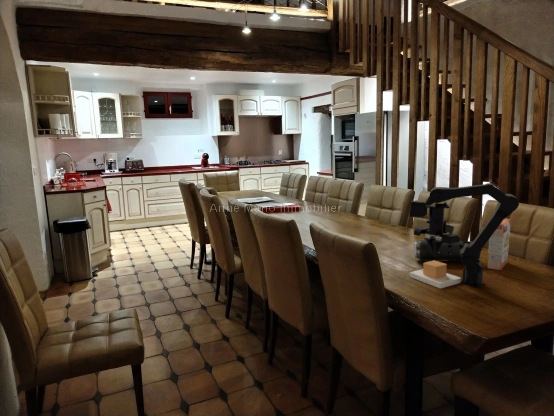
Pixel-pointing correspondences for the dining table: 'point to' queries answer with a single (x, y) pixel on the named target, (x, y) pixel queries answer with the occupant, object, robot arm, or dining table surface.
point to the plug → (435, 269)
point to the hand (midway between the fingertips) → (435, 255)
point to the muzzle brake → (444, 253)
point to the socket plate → (437, 282)
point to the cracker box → (499, 246)
